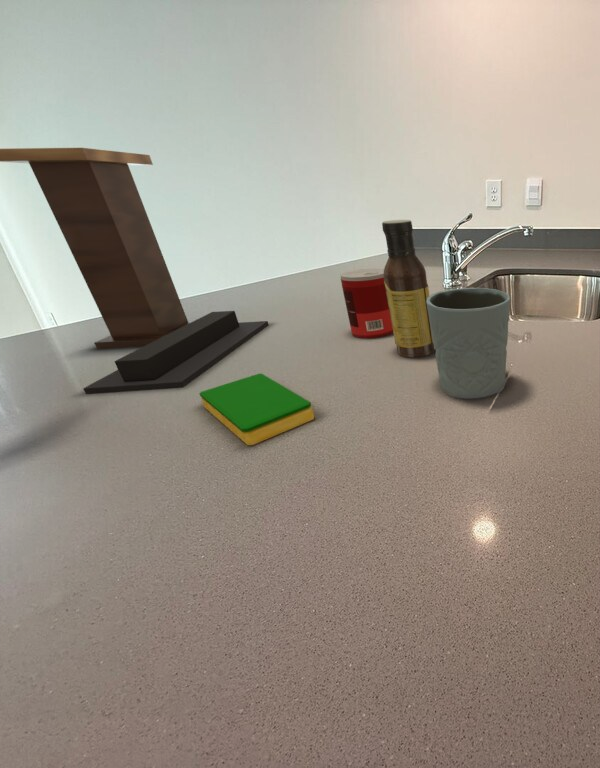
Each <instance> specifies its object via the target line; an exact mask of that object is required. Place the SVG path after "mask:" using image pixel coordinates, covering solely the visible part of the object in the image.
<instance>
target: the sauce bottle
mask: <svg viewBox="0 0 600 768" xmlns="http://www.w3.org/2000/svg"><path fill="white" fill-rule="evenodd" d="M381 225H382V226H381V227H382V232H383V235H384V236H385V242H386V248H387V250H386V251H387V255H388V258H387V261H386V264H385V265H384V268H383V269H384V283H385V288H386V294H387V300H388V305H389V311H390V316H391V322H392V328H393V333H392V334H393V338H394V343H395V345H396V351H397V354H398V355H400V357H404V358H422V357H426V356H428V355H431V354H433V353H435V352H436V350H435V349H434V344H433V339H432V332H431V326H430V319H429V315H428V309H427V303H426V300H427V298H428V297H429V296H430V290H429V284H428V280H427V279H428V278H427V272H426V269H425V266H424V264H423V263H422V261H421V260H420V259H419V258H418V257H417V255H416V248H415V245H414V237H413V231H414V228H413V221H412V220H411V219H392V220H384V221H382V223H381Z"/></svg>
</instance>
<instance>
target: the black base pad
mask: <svg viewBox="0 0 600 768" xmlns="http://www.w3.org/2000/svg"><path fill="white" fill-rule="evenodd" d="M238 323H239V327H237V328H236V329H234V330H233V331H231V332H229V333H228V334H226V335H225V336H223V337H222V338H220V339H218V340H217V341H215V342H214V343H212V344H211V345H209V346H207V347H206V348H204V349H203V350H201V351H200V352H198V353H196V354H195V355H193V356H192V357H190V358H188V359H187V360H185V361H184V362H182V363H181V364H179V365H177V366H176V367H174V368H173V369H171V370H170V371H168V372H166V373H165V374H163V375H162V376H160V377H159V378H157V379H154V380H139V381H124V380H123V378H122V376H121V374H120V372H119V370H118V369H117V370H115V371H113V372H111V373H109V374H107V375H105V376H103V377H102V378H100V379H98V380H97V381H94V382H92V383H90V384H89V385H87V386H85V387H83V388H82V389H83V391H84V393H85V394H86V395H92V394H105V393H106V394H107V393H120V392H121V393H122V392H137V391H149V390H150V391H151V390H165V389H180V388H185V387H186V386H187V385H189V384H190V383H191V382H193V381H194V380H196V379H197V378H198V377H200V376H201V375H203V374H204V373H205V372H207V371H208V370H209V369H211V368H212V367H213V366H215V365H216V364H218V363H219V362H220V361H222V360H223V359H224V358H225V357H227V356H228V355H230V354H231V353H233V352H234V351H235V350H237V349H238V348H240V347H241V346H242V345H244V344H245V343H246V342H247V341H249V340H251V339H252V338H253V337H255V336H256V335H258V334H259V333H260V332H261V331H263V330H265V329H266V328H267V327H268V326H269V325H270V324H269V321H268V320H263V321H261V320H260V321H259V320H258V321H243V322H241V321H240V322H238Z"/></svg>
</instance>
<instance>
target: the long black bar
mask: <svg viewBox="0 0 600 768" xmlns="http://www.w3.org/2000/svg"><path fill="white" fill-rule="evenodd" d="M196 319H197V320H195V321H193V322H191V323H189V324H187V325H185V326H183V327H181V328H179V329H177V330H175V331H173V332H171V333H169V334H167V335H165V336H163V337H161V338H160V339H158V340H156V341H154V342H152V343H150V344H148V345H146V346H141V347H140V348H138V349H136V350H134V351H132V352H130V353H128V354H126V355H123V356H122V357H119V358H118V359H116V360H114V364H115V366H116V368H117V370H119V372H120V374H121V376H122V378H123V380H124V381H139V380H154V379H157V378H159V377H160V376H162V375H163V374H165V373H166V372H168V371H170V370H171V369H173V368H174V367H176V366H177V365H179V364H181V363H182V362H184V361H185V360H187V359H188V358H190V357H192V356H193V355H195V354H196V353H198V352H200V351H201V350H203V349H204V348H206V347H207V346H209V345H211V344H212V343H214V342H215V341H217V340H218V339H220V338H222V337H223V336H225V335H226V334H228V333H229V332H231V331H233V330H234V329H236V328H237V327H239V323H240V322H239V320H238V317H237V314H236V311H235V310H225V311H211V312H209V313H207V314H205V315H203V316H201V317H199V318H196Z"/></svg>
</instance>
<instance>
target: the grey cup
mask: <svg viewBox="0 0 600 768" xmlns="http://www.w3.org/2000/svg"><path fill="white" fill-rule="evenodd" d="M426 303H427V309H428V315H429V319H430V326H431V332H432V339H433V344H434V349H435V361H436V366H437V371H438V378H439V386H440V389H441V391H442V392H443V393H444V394H446V395H448V396H450V397H452V398H458V399H468V400H469V399H479V398H486V397H489V396H492V395H494V394H495V395H498V394H501V393H502V391H503V390H504V389H505V386H506V371H507V370H506V368H507V356H508V350H507V346H508V339H509V322H510V311H511V297H510V295H509V294H508V293H506V292H505V291H502V290H499V289H495V288H486V287H460V288H451V289H446V290H442V291H438V292H434V293H432V294H429V297H428V298H427V300H426Z"/></svg>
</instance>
